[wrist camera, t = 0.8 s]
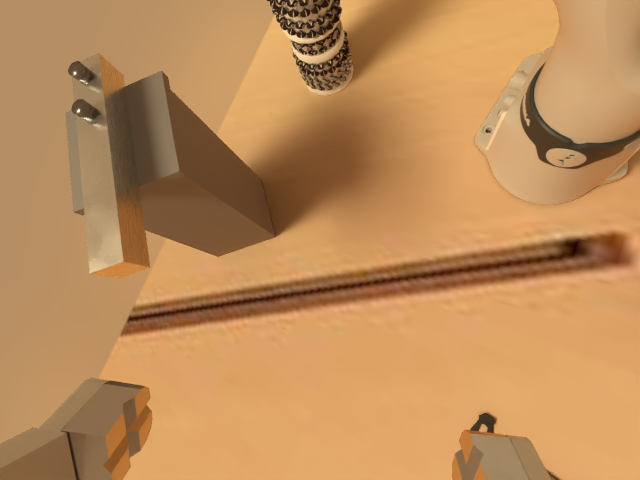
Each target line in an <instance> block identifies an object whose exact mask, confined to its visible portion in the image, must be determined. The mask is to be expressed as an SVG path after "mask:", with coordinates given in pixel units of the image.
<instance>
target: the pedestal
mask: <svg viewBox="0 0 640 480" xmlns="http://www.w3.org/2000/svg"><path fill="white" fill-rule="evenodd" d="M125 90H126V98H127V105H128V112H129V119H130V126H131V133H132V141H133V148H134V155H135V162H136V169H137V176H138V184H139V191H140V198H141V205H142V212H143V219H144V226H145V230H146V231H150V232H152V233H154V234H157V235H160V236H163V237H165V238H168V239H171V240H174V241H176V242H179V243H182V244H185V245H187V246H190V247H193V248H196V249H198V250H201V251H204V252H206V253H209V254H212V255H215V256H217V257H218V256H221V255H224V254H227V253H230V252H233V251H236V250H239V249H242V248H245V247H247V246H250V245H253V244H256V243H259V242H262V241H265V240H268V239H271V238H274V237H276V236H275V232H274V228H273V224H272V220H271V216H270V212H269V208H268V204H267V200H266V196H265V192H264V188H263V184H262V180H261V179H260V178H259V177H258V176H257V175H256V174H255V173H254V172H253V171H252V170H251V169H250V168H249V167H248V166H247V165H246V164H245V163H244V162H243V161H242V160H241V159H240V158H239V157H238V156H237V155H236V154H235V153H234V152H233V151H232V150H231V149H230V148H229V147H228V146H227V145H226V144H225V143H224V142H223V141H222V140H221V139H220V138H219V137H218V136H217V135H216V134H215V133H213V131H212V130H210V128H208V126H207V125H206V124H204V122H203V121H202V120H201V119H199V117H198V116H197V115H196V114H194V113H193V111H191V109H189V108H188V107H187V106H186V105H185V104H184V103H183V102H182V101H181V100H180V99H179V98H178V97H177V96H176V95H175V94H174V93H173V92H172V91H171V90H170V86H169V80H168V77H167V76H166V75H165V74H164V73H163V72H162V71H160V72H157V73H155V74H153V75H150V76H149V77H146V78H144V79H141V80H139V81H137V82H135V83H132V84H130V85H128V86H125ZM66 125H67V137H68V150H69V161H70V174H71V186H72V199H73V211H74V212H75V213H78V214H81V215H84V204H83V193H82V181H81V170H80V159H79V148H78V137H77V126H76V115H75V114H74V113H73V112H72V110H71V111H69V112H66Z"/></svg>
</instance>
